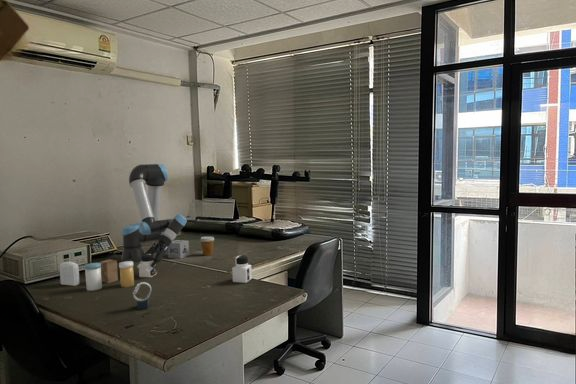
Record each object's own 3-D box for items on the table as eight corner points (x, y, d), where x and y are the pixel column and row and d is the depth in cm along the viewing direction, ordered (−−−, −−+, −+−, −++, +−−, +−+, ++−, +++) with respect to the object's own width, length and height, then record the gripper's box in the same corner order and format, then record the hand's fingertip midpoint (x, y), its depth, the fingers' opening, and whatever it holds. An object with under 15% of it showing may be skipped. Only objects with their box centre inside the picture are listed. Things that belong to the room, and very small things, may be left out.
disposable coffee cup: (217, 253, 289) (217, 236, 288) (209, 256, 280) (208, 239, 279) (206, 252, 293) (205, 235, 292) (198, 255, 284) (197, 238, 283)
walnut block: (101, 281, 228) (100, 261, 227) (110, 278, 233) (109, 259, 232) (108, 283, 225) (107, 262, 224) (117, 280, 230) (116, 260, 229)
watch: (133, 306, 186) (132, 282, 186) (152, 304, 189) (151, 280, 188) (132, 310, 181) (131, 285, 180) (152, 308, 183) (150, 283, 182)
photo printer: (81, 283, 225) (79, 261, 224) (74, 286, 221) (73, 263, 220) (65, 282, 228) (64, 260, 227) (59, 285, 224) (57, 262, 223)
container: (252, 278, 224) (251, 255, 223) (246, 283, 217) (245, 258, 216) (239, 278, 227) (238, 254, 226) (232, 282, 219) (231, 257, 218)
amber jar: (118, 285, 220) (116, 263, 219) (131, 282, 225) (129, 260, 224) (123, 288, 215) (122, 265, 214) (136, 284, 220) (135, 262, 219)
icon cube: (168, 257, 282) (167, 242, 281) (177, 254, 291) (176, 240, 290) (180, 258, 278) (179, 243, 278) (189, 254, 288) (188, 240, 287)
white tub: (83, 288, 216) (82, 264, 215) (99, 285, 221) (97, 261, 220) (89, 291, 210) (87, 267, 209) (104, 288, 215) (103, 264, 214)
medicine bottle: (150, 277, 233) (149, 256, 232) (139, 277, 234) (137, 256, 233) (157, 274, 240) (156, 253, 239) (145, 273, 241) (144, 253, 240)
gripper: (181, 243, 239) (156, 277, 229) (162, 239, 255) (138, 270, 245) (172, 236, 235) (147, 269, 225) (153, 232, 250) (129, 263, 241)
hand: (142, 269), depth 235 cm, fingers closed on medicine bottle, 10 cm apart
